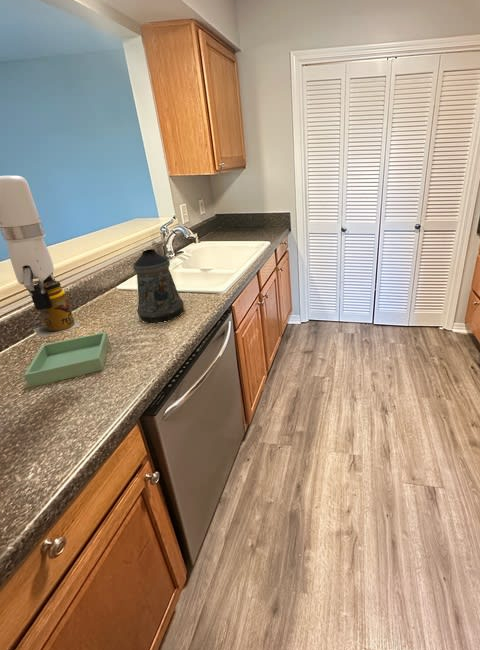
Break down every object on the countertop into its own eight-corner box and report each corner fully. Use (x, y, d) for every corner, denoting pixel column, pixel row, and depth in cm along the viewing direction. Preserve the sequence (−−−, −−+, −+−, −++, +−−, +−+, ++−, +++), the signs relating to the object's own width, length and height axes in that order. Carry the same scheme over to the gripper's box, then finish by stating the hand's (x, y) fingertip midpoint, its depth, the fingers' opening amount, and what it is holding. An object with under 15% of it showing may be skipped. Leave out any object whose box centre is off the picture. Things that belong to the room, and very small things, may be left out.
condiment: (81, 325, 84) (67, 282, 80) (42, 339, 78) (25, 293, 74) (70, 317, 89) (56, 277, 84) (33, 330, 83) (16, 287, 78)
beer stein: (151, 328, 114) (134, 261, 105) (129, 313, 127) (112, 252, 117) (192, 312, 126) (180, 250, 116) (169, 299, 138) (156, 242, 128)
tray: (29, 387, 87) (23, 375, 85) (46, 356, 101) (42, 344, 100) (102, 370, 93) (98, 358, 91) (109, 342, 107) (106, 331, 106)
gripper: (18, 227, 81) (42, 293, 87) (-15, 242, 66) (17, 320, 72) (53, 224, 83) (74, 289, 90) (29, 238, 68) (56, 314, 75)
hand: (48, 302), depth 81 cm, fingers closed on condiment, 6 cm apart
